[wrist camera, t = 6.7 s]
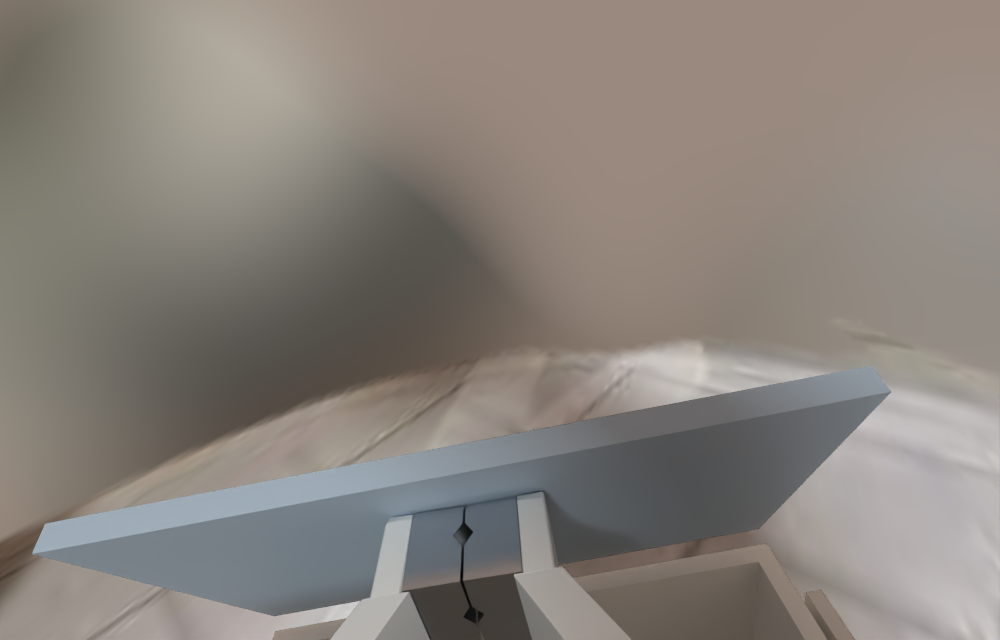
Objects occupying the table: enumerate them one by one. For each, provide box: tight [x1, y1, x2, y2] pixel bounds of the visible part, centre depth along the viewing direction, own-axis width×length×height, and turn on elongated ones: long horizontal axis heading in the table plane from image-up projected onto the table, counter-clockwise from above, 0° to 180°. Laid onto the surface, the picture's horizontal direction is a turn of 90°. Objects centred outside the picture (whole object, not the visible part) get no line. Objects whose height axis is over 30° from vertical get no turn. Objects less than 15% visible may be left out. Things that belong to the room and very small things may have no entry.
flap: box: [32, 366, 891, 616], centre depth 11 cm, size 14×8×1 cm
